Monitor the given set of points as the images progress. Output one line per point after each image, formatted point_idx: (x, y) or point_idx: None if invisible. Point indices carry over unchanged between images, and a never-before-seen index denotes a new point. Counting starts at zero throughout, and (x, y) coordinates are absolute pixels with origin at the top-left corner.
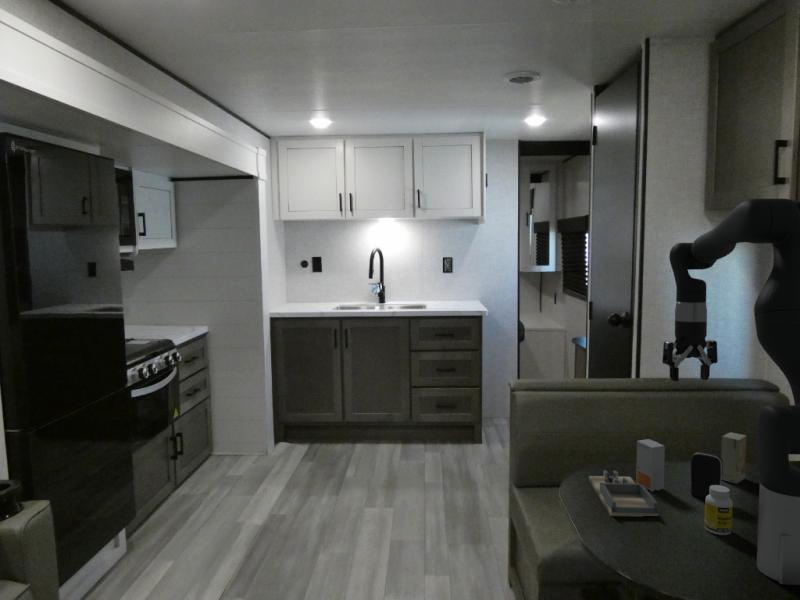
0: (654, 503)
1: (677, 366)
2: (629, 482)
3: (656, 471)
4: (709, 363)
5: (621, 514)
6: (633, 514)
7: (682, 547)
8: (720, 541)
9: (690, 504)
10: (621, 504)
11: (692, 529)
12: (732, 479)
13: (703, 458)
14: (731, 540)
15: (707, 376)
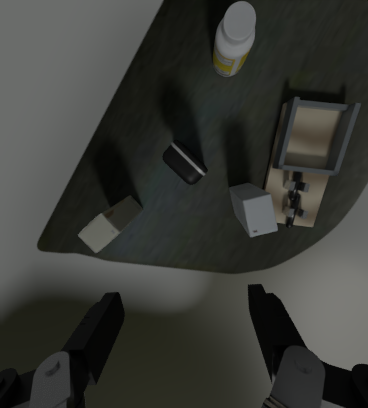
0: (299, 97)
1: (288, 352)
2: None
3: (247, 188)
4: (50, 366)
5: None
6: None
7: (304, 6)
8: None
9: (219, 140)
10: (321, 132)
11: (259, 63)
12: (132, 199)
13: (194, 156)
14: None
15: (103, 301)
